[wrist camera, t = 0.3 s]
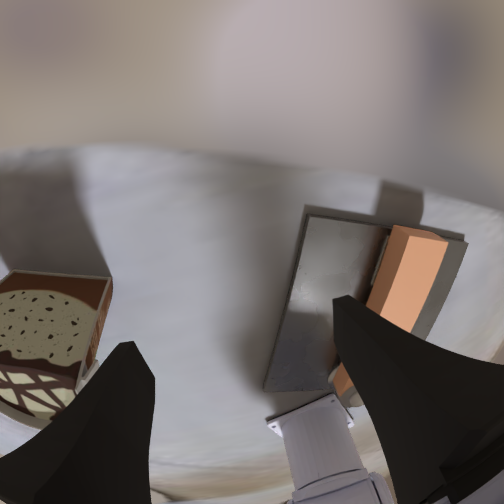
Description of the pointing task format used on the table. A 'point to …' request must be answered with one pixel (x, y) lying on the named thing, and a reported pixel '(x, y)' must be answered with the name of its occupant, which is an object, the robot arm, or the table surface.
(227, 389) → the table surface
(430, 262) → the swing bar
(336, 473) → the robot arm
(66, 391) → the food container
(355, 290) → the label plate
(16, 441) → the table surface
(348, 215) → the table surface
